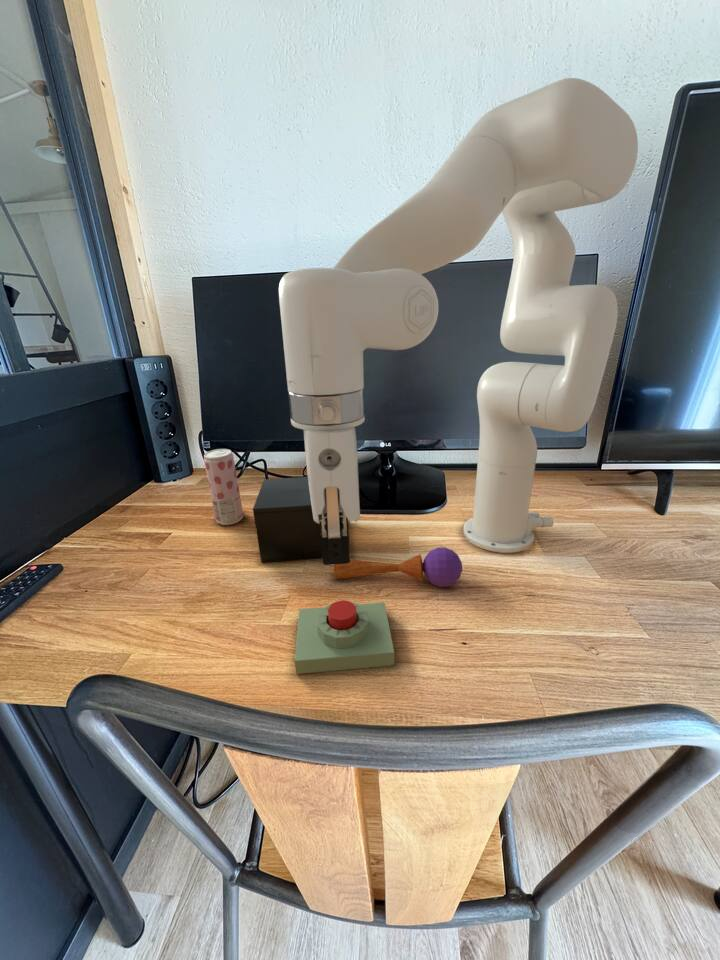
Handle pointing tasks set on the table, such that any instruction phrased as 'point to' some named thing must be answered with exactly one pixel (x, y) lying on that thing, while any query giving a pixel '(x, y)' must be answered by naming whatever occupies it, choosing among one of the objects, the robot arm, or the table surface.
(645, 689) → the table surface
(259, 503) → the lid
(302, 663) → the control block
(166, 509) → the table surface
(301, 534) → the black box
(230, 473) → the beverage can
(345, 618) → the button
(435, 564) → the kendama
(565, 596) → the table surface
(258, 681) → the table surface
